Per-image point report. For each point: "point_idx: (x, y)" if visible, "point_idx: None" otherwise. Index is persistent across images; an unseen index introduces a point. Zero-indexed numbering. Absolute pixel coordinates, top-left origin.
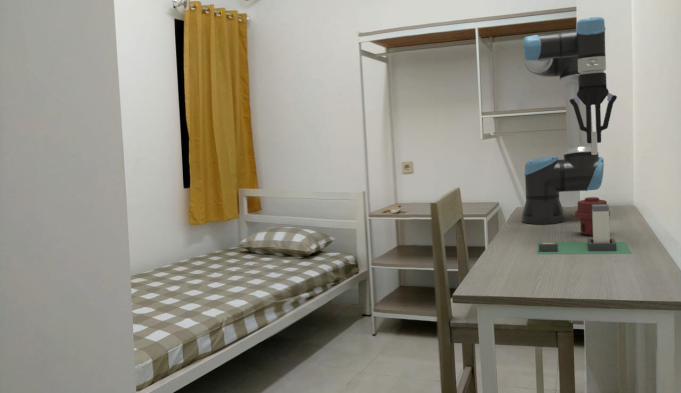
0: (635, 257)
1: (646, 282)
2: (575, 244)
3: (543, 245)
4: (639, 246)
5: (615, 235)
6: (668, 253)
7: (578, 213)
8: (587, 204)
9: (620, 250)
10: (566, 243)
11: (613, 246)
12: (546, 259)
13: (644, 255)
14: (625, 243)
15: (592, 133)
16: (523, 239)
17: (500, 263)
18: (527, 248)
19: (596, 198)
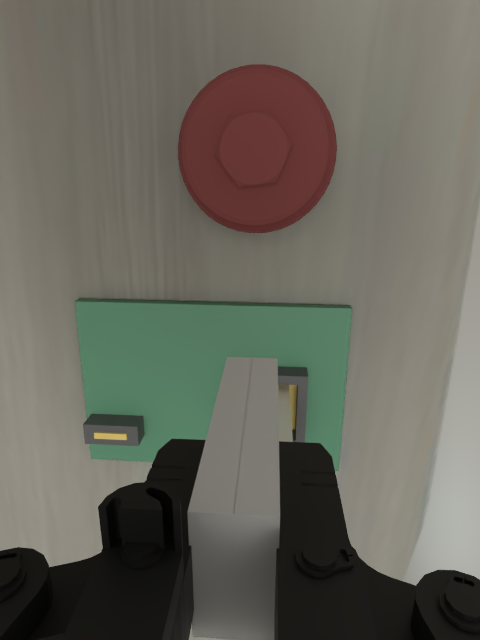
0: (344, 464)
1: None
2: (192, 342)
3: (99, 442)
4: (387, 329)
5: (346, 122)
6: (441, 426)
7: (193, 198)
8: (228, 219)
9: (314, 433)
10: (165, 325)
11: None
12: (120, 471)
13: (372, 444)
14: (345, 340)
15: (211, 624)
16: (13, 179)
17: (14, 502)
18: (51, 334)
19: (275, 176)
